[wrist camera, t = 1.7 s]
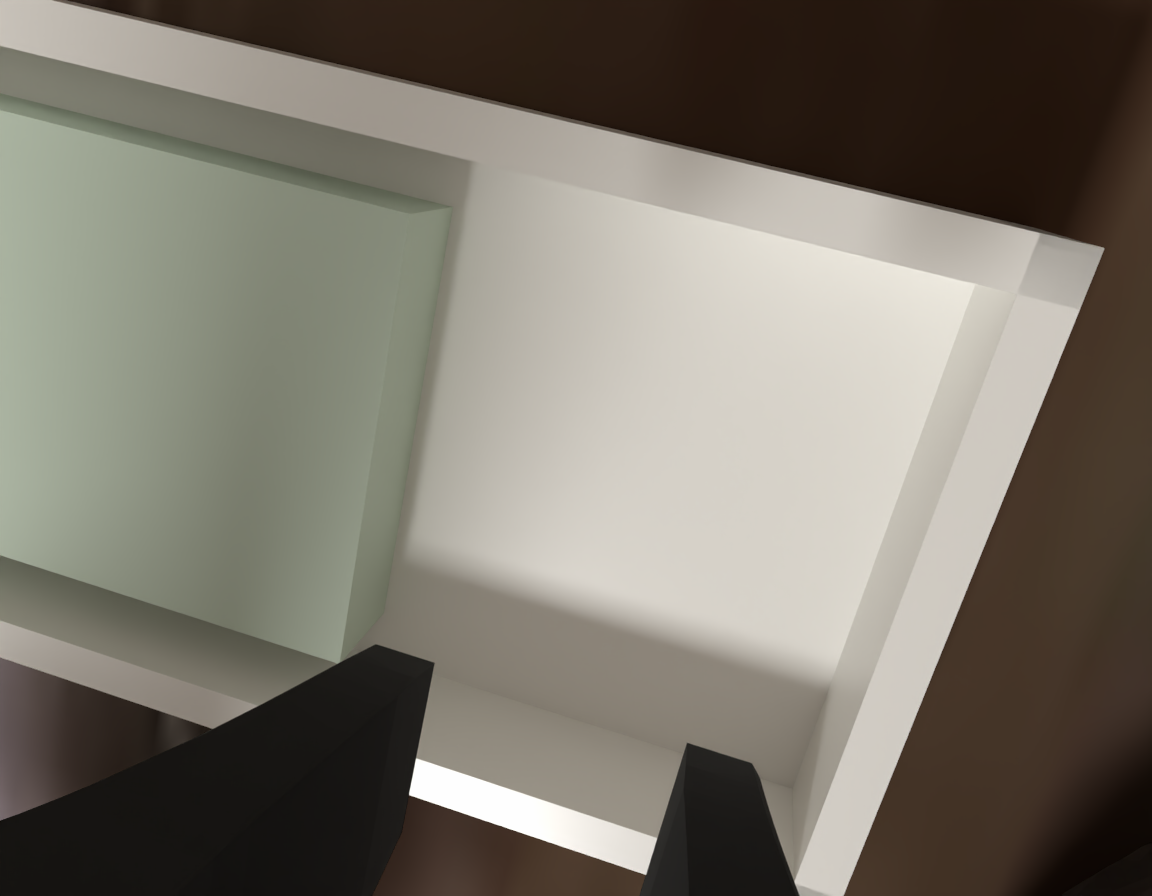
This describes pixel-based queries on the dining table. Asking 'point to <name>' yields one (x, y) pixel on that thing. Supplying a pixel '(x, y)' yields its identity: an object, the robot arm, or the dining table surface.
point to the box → (615, 446)
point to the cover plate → (208, 374)
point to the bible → (1120, 877)
